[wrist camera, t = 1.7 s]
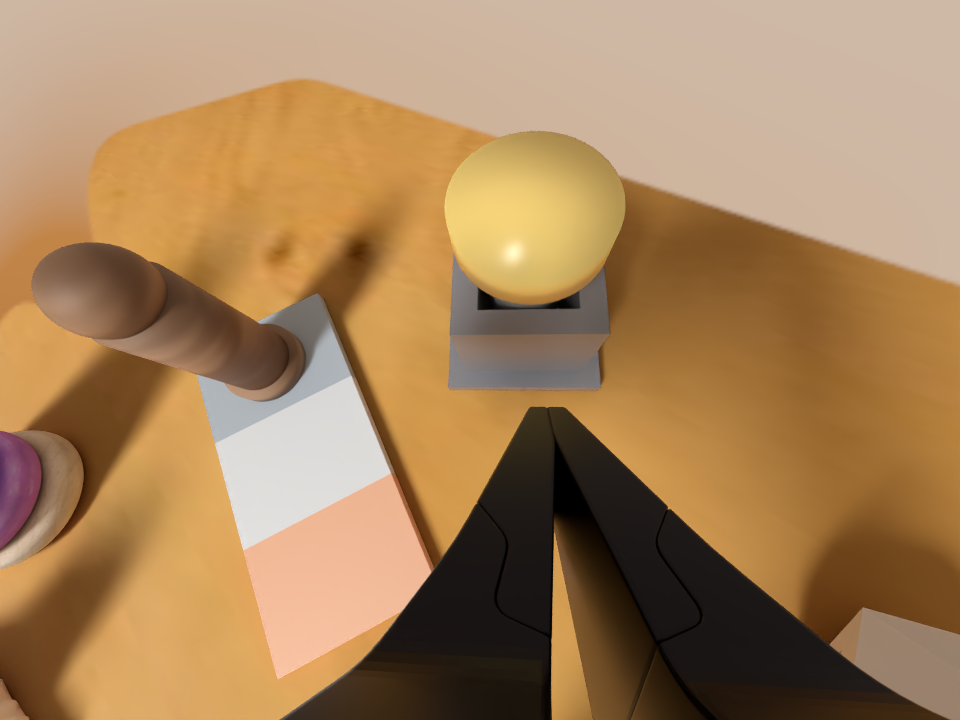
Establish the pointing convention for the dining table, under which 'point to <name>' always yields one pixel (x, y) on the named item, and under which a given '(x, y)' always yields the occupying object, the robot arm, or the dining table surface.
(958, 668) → the die
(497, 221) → the dome button
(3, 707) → the seated beast figurine
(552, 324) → the box
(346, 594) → the game board
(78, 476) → the stacking toy
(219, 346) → the brown round-topped post
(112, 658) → the dining table surface
